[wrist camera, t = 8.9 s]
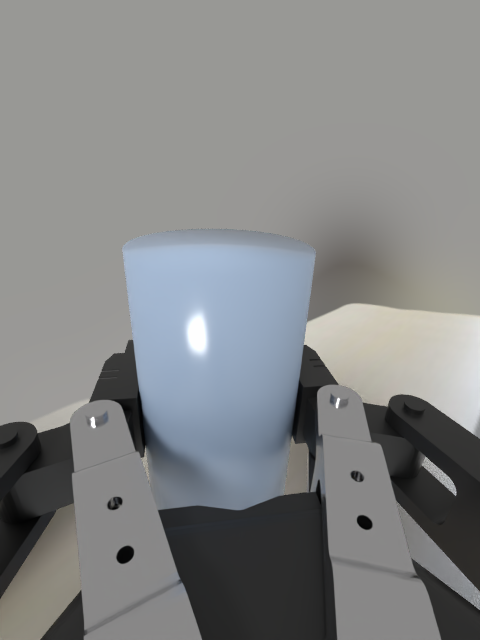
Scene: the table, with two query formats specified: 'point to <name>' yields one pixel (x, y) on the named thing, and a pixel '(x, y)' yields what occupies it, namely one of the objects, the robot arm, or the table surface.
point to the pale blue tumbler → (218, 360)
